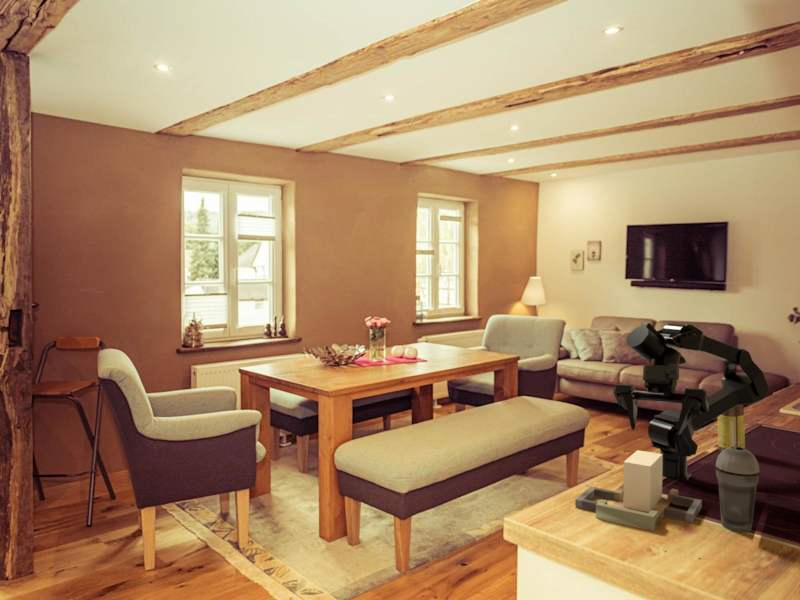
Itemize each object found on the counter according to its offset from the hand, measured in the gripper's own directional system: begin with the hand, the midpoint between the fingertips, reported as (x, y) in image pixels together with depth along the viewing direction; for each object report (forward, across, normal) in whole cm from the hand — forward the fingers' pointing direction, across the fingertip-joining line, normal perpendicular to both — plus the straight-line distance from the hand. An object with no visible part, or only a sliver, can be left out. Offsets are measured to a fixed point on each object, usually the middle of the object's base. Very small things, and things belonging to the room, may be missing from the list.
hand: (654, 431), depth 129 cm
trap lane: (+18, -1, 0) cm, 18 cm away
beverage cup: (+19, +16, +1) cm, 25 cm away
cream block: (+15, -1, +2) cm, 15 cm away
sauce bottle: (-19, +9, +42) cm, 47 cm away
